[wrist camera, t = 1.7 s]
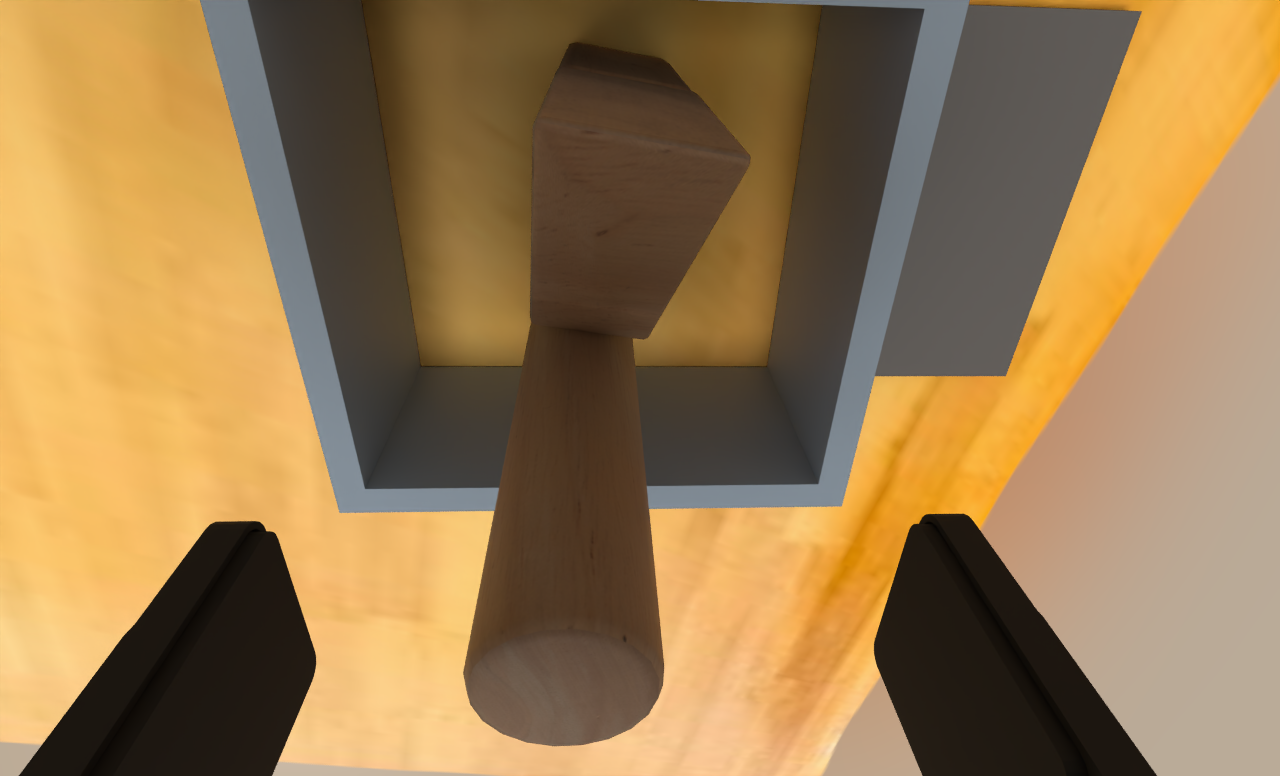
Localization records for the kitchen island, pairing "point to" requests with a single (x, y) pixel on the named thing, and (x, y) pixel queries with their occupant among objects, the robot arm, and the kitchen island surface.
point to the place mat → (1000, 183)
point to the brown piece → (591, 399)
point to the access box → (668, 396)
